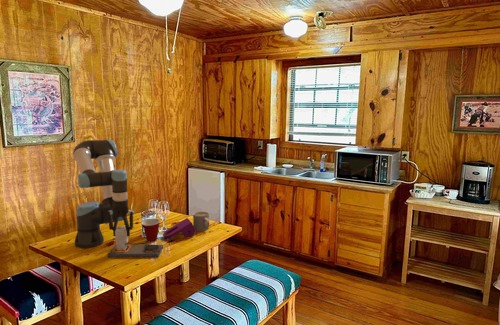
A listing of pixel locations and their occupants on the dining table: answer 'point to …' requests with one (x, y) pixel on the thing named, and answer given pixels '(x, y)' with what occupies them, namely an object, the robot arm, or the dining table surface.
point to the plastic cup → (151, 229)
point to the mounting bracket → (180, 229)
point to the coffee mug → (201, 221)
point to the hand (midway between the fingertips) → (121, 241)
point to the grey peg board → (137, 251)
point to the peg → (121, 238)
